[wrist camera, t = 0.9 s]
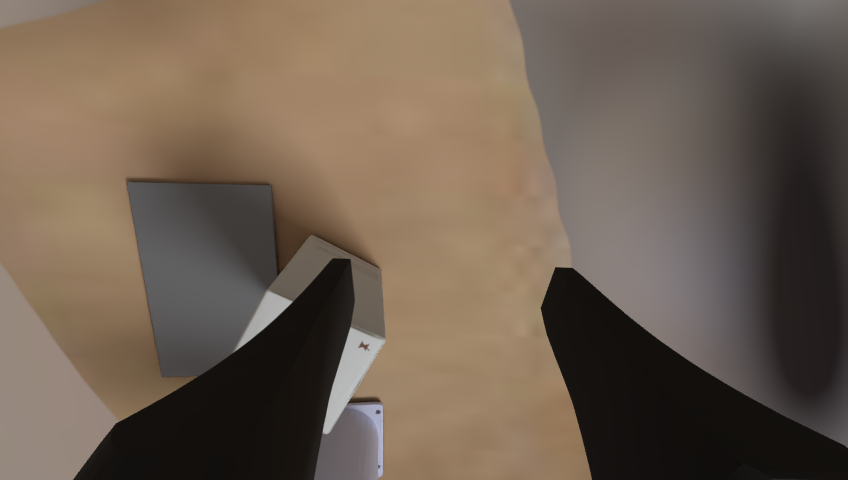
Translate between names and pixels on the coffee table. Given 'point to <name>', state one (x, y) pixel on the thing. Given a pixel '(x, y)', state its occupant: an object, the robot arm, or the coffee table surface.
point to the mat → (202, 266)
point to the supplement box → (365, 320)
